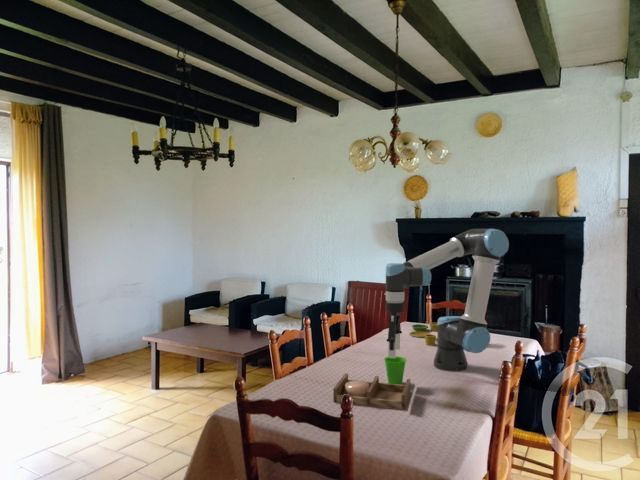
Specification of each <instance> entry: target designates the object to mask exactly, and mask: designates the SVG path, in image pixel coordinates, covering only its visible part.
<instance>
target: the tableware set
mask: <svg viewBox="0 0 640 480" xmlns="http://www.w3.org/2000/svg"><path fill="white" fill-rule="evenodd" d="M437 323H438V322H430V323H429V325H430V327H429V326H428V325H426V324H420V323H417V324H412V325H411V327H412V330H414V331H412V332H409V336H411V337H413V338H418V339H421V338H422V339H425V345H426V346H430V347H431V346H432V347H434V346H435V345H436V342H437V343H438V336H437V335H435V334H432V333H431V332H435V333H438V330H437ZM428 328H430V332H427V329H428Z"/></svg>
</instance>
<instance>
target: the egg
mask: <svg viewBox="0 0 640 480" xmlns="http://www.w3.org/2000/svg"><path fill="white" fill-rule="evenodd" d="M363 381H364V380H356V381H350V382H347V383H346V384H345V394H349V395H350V396H358V397H367V391H368V389H369V384H368V383H366V382H363Z"/></svg>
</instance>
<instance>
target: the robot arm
mask: <svg viewBox="0 0 640 480" xmlns="http://www.w3.org/2000/svg"><path fill="white" fill-rule="evenodd" d="M509 246H510V242H509V239H508V237H507V235H506V233H505V232H504V231H502V230H500V229H496V228H472V229H469V230H466V231H464V232H462V233H461V232H460V233H459V234H457V235H455V236H453V237H451V238H450V239H449V241H447V242H446V243H444V244H441V245H439V246H437V247H435V248H433V249H431V250H428V251H427V252H424V253H423V254H420V255H418V256H416V257H413V258H411V259H409V260H408V261H405V262H402V263H396V262H393V263H392V262H391V263H387V264H386V266H385V267H386V268H385V275H384V276H385V292H384V296H385V311H386V312H388V313H390V315H389V317H388V321H389V322H388V332H387V333H388V334H387V339H386V342H387V343H388V349H387V351H388V356H387V357H388V358H396V356H397V355H396V354H397V353H396V350H397V351H398V350H399V351H400V350H401V334H402V333H403V331H402V329H401V313H403V312H404V311H405V302H404V301H405V287H423V286H428V285H430V283H431V281H432V272H431V270H433V268H435V267H439V266H440V265H442V264H444V263H446V262H448V261H450V260H452V259H454V258H457V257H458V258H461V257H464V256H467V255H472V256H471V258H472V259H473V260H474V263H473V268H472V273H471V277H470V278H471V280H470V283H469V284H470V285H469V288H468V293H467V299H466V303H465V309H464V313H463V314H462V315H461V316H460V315H459V316H458V315H451V316H450V315H448V316H447V315H446V316H440V317H439V318H438V319H437V322H436V323H437V330H438V332H437V337H438V342H437V349H436V353H435V355H434V358H433V366H434V367H435V368H436V369H439V370H443V371H448V372H449V371H450V372H457V371H458V372H460V371H464V370H467V369H468V361H467V360H468V359H467V357H466V354H465V351H466V352H467V353H472V354H480V353H483V352H484V351H485V350H486V349H487V348H488V346H489V345H490V342H491V333H490V331H489V330H488V329H487V327H488V322H487V321H486V319H485V318H486V313H487V310H488V308H487V307H488V304H489V299H490V293H491V289H492V283H493V279H494V278H493V277H494V273H495V268H496V265H497V264H499V263H500V261H501V257H503V256H505V254H506V253H508V251H509Z"/></svg>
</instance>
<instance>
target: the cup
mask: <svg viewBox="0 0 640 480" xmlns="http://www.w3.org/2000/svg"><path fill="white" fill-rule="evenodd" d="M383 361H384V362H385V364H384V365H385V370H386V375H387V382H388V383H389V384H400V385H403V380H404V373H405V365H406V362H407V359H406V358H405V357H403V356H398V355H396V358H388V356H386V357H384V358H383Z"/></svg>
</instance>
